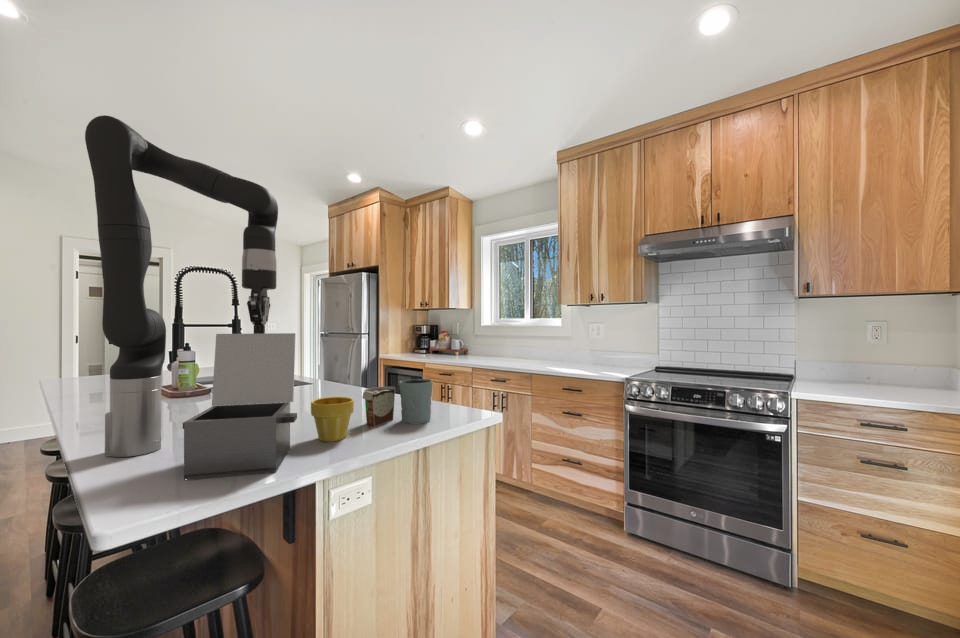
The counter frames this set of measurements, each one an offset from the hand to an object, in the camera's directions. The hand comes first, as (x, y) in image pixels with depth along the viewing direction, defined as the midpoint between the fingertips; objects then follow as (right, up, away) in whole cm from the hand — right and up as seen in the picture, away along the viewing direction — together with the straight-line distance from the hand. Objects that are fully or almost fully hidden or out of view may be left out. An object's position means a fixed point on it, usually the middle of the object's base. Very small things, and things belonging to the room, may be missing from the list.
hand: (259, 340), depth 103 cm
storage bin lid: (+1, -6, -4) cm, 8 cm away
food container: (+23, -26, +22) cm, 41 cm away
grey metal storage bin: (+4, -25, -14) cm, 29 cm away
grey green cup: (+35, -26, +25) cm, 50 cm away
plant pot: (+16, -26, +5) cm, 31 cm away
